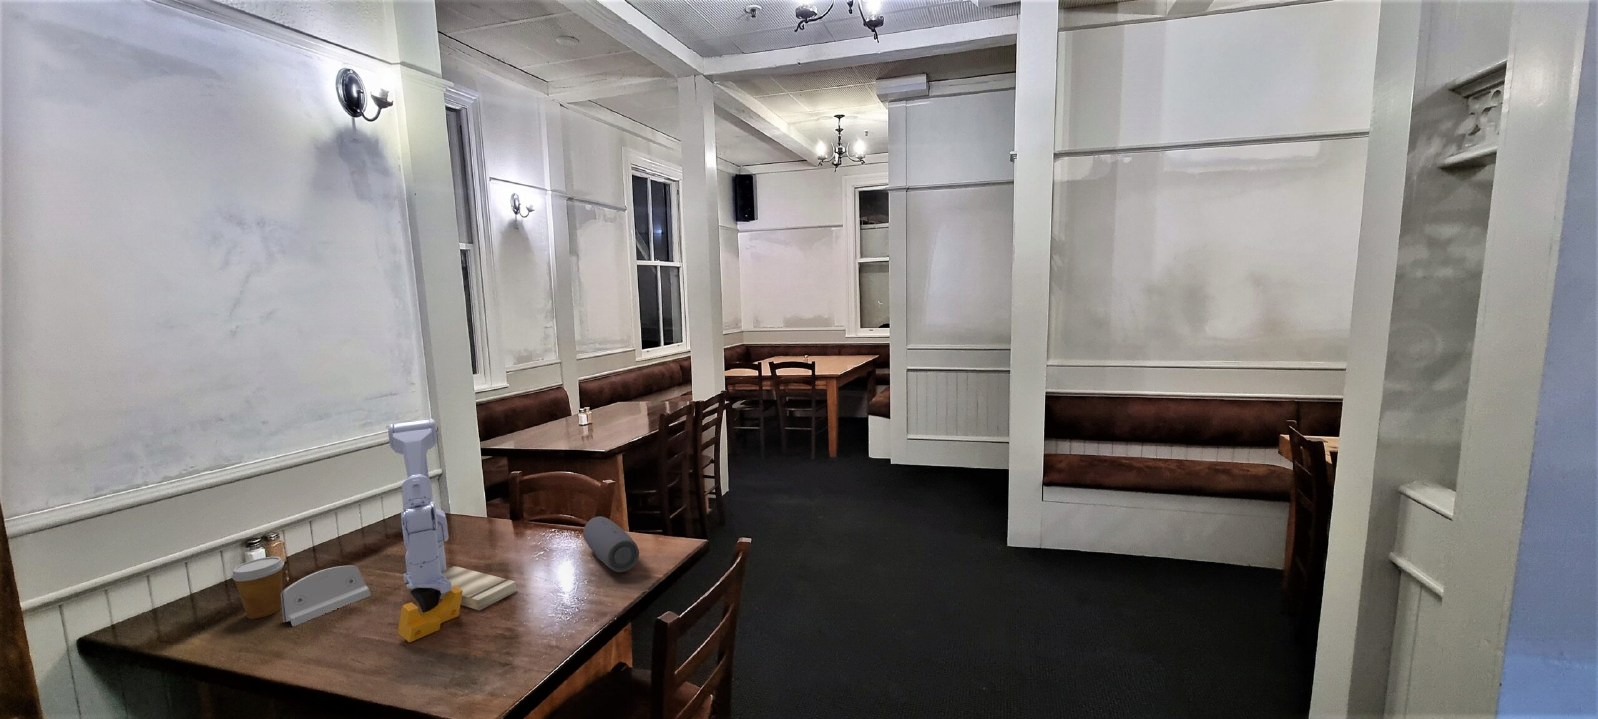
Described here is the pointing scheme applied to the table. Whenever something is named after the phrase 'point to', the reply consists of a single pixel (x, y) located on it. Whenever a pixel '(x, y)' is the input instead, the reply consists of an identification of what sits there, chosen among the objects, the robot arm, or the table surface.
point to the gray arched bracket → (322, 593)
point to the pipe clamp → (429, 616)
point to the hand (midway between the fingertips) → (431, 616)
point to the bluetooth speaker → (611, 544)
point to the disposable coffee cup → (260, 586)
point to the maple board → (478, 587)
